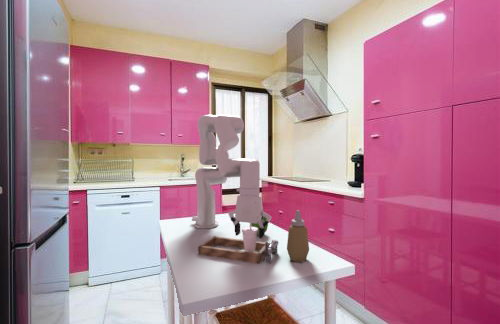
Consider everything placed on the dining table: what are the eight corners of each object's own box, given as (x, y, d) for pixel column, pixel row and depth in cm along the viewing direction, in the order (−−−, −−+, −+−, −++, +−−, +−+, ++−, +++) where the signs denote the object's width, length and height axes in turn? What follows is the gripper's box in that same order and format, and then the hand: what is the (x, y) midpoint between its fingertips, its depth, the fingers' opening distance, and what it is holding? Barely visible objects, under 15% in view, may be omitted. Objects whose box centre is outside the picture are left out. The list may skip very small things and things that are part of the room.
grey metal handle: (263, 264, 88) (263, 242, 88) (272, 251, 99) (272, 232, 99) (269, 265, 87) (269, 243, 87) (278, 252, 99) (278, 232, 98)
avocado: (259, 238, 115) (259, 212, 115) (248, 234, 121) (247, 209, 121) (271, 234, 120) (271, 210, 120) (260, 231, 126) (259, 207, 126)
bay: (198, 254, 97) (198, 246, 97) (214, 243, 109) (214, 236, 109) (259, 263, 89) (259, 255, 88) (269, 250, 101) (269, 243, 101)
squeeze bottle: (304, 265, 87) (304, 214, 86) (283, 260, 91) (283, 211, 91) (312, 257, 94) (312, 209, 93) (291, 253, 98) (291, 207, 97)
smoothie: (246, 258, 93) (246, 220, 92) (238, 252, 98) (238, 216, 98) (261, 254, 96) (261, 218, 95) (253, 249, 101) (253, 214, 101)
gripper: (224, 192, 96) (224, 236, 96) (268, 195, 90) (268, 242, 90) (233, 189, 103) (232, 230, 103) (274, 191, 97) (273, 235, 97)
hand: (249, 235), depth 97 cm, fingers open, 9 cm apart
